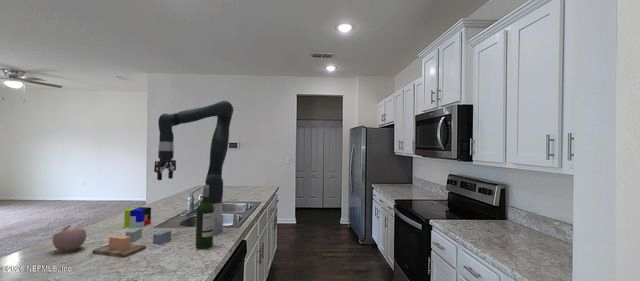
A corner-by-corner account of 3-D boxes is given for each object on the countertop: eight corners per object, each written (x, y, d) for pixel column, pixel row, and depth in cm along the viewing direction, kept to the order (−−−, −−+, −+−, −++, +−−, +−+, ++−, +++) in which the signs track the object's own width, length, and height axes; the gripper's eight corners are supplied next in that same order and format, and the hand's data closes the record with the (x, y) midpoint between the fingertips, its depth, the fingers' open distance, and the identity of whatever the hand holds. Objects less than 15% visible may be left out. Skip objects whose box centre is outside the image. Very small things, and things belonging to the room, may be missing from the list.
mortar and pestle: (81, 244, 151) (82, 220, 151) (89, 250, 144) (90, 225, 144) (49, 250, 142) (50, 225, 142) (55, 257, 134) (56, 230, 134)
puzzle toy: (140, 228, 183) (141, 210, 183) (124, 227, 183) (124, 210, 183) (150, 223, 193) (151, 207, 193) (134, 223, 193) (135, 206, 193)
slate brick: (164, 239, 163) (164, 229, 163) (170, 240, 162) (171, 230, 162) (152, 244, 155) (153, 234, 155) (159, 245, 154) (160, 234, 154)
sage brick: (133, 237, 165) (134, 227, 165) (141, 237, 165) (142, 228, 165) (125, 242, 157) (125, 232, 157) (133, 242, 157) (133, 232, 157)
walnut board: (145, 248, 148) (145, 245, 148) (124, 257, 136) (124, 254, 136) (115, 245, 152) (115, 242, 152) (92, 253, 140) (92, 250, 140)
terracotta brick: (130, 247, 145) (130, 236, 145) (123, 250, 141) (123, 239, 141) (116, 245, 147) (116, 234, 147) (108, 248, 143) (109, 237, 143)
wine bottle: (207, 250, 149) (209, 187, 149) (192, 248, 150) (194, 186, 151) (215, 244, 156) (217, 185, 157) (201, 243, 158) (203, 184, 158)
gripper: (162, 150, 165) (161, 181, 165) (180, 150, 179) (179, 178, 179) (150, 150, 167) (149, 180, 166) (169, 149, 180) (168, 177, 180)
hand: (165, 179), depth 173 cm, fingers open, 8 cm apart
